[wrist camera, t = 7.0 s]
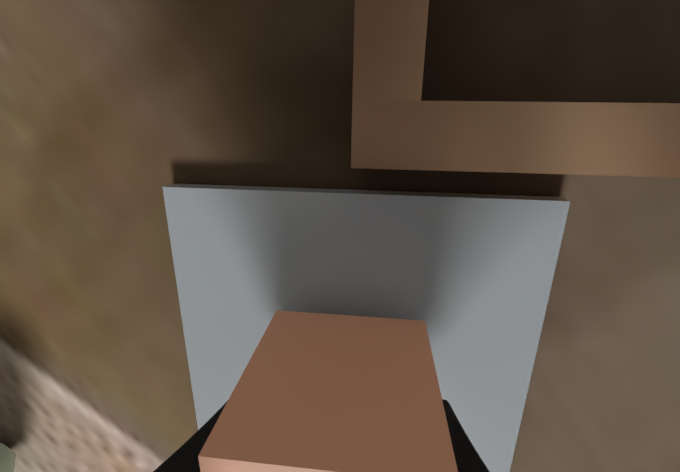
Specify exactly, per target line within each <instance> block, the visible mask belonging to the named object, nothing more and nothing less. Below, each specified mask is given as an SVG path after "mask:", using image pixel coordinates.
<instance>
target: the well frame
mask: <svg viewBox="0 0 680 472" xmlns="http://www.w3.org/2000/svg"><path fill="white" fill-rule="evenodd" d="M428 9H429V0H355V8H354V51H353V95H352V138H351V168H361V169H396V170H431V171H466V172H501V173H536V174H571V175H607V176H642V177H677V178H680V103H609V102H507V101H421V96H422V84H423V71H424V59H425V47H426V34H427V22H428Z"/></svg>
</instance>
